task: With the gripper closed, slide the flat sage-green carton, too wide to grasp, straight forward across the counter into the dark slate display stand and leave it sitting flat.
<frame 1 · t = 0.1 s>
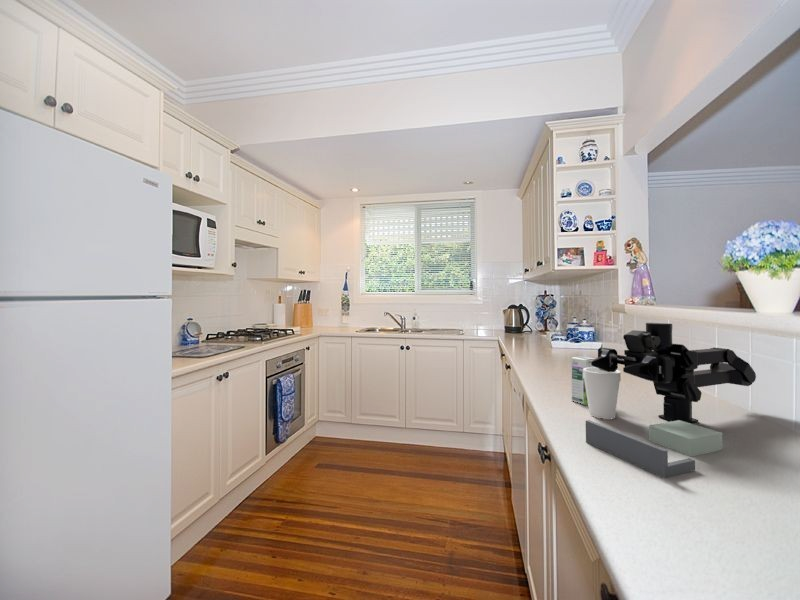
hand: (607, 366, 89), 17 cm above the table, tool horizontal, fingers open, 9 cm apart
foam cup: (602, 416, 102), on the table
display stand: (644, 452, 77), on the table
carton: (684, 446, 81), on the table
syrup box: (584, 402, 115), on the table
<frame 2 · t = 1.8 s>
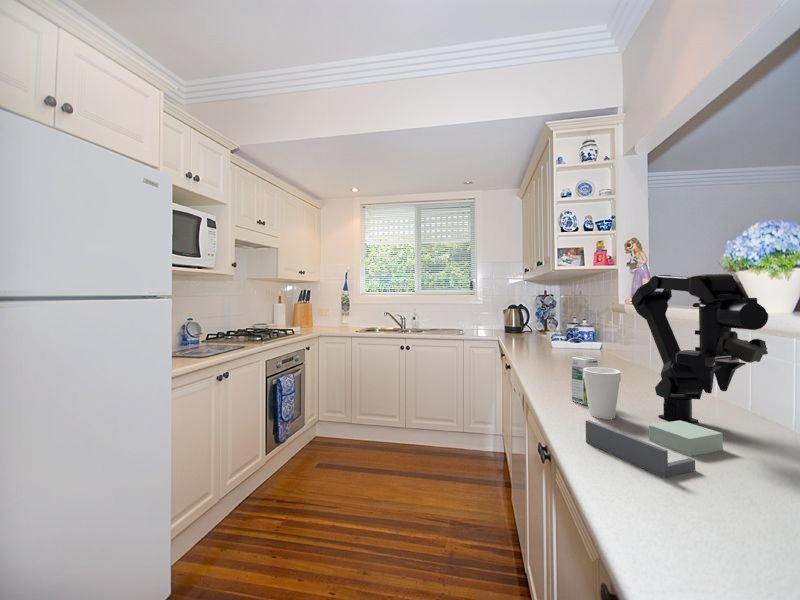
hand: (715, 392, 84), 11 cm above the table, tool pointing down, fingers open, 5 cm apart
nothing on the table moved.
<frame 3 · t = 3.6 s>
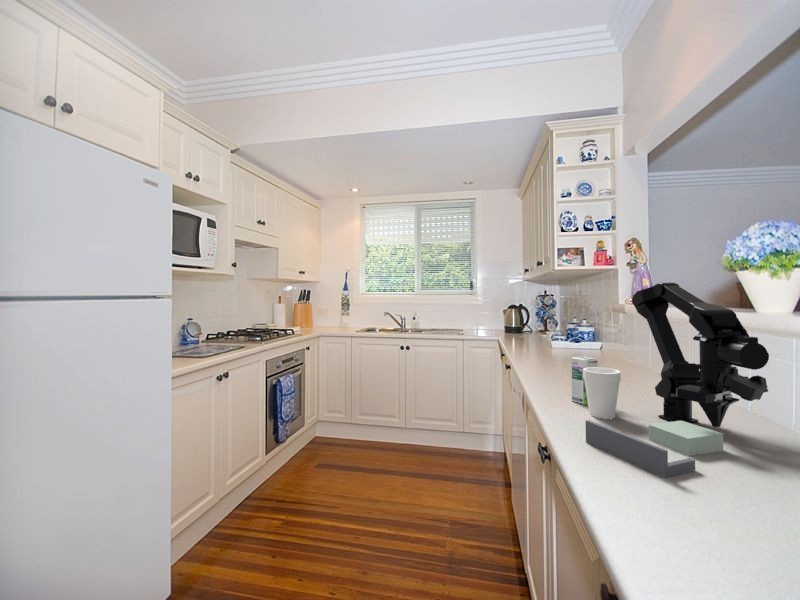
hand: (716, 426, 84), 3 cm above the table, tool pointing down, fingers closed
nothing on the table moved.
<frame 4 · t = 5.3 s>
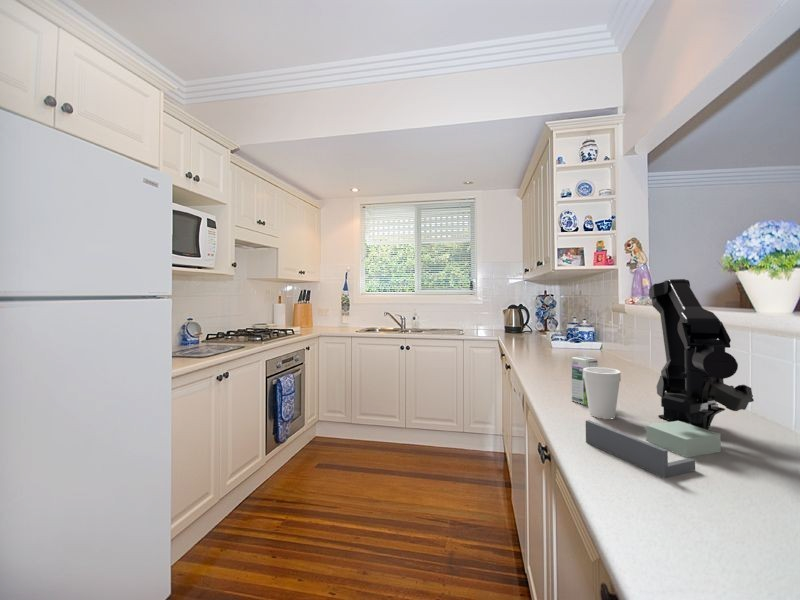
hand: (701, 436, 83), 1 cm above the table, tool pointing down, fingers closed
carton: (682, 447, 80), on the table
everything else where it was.
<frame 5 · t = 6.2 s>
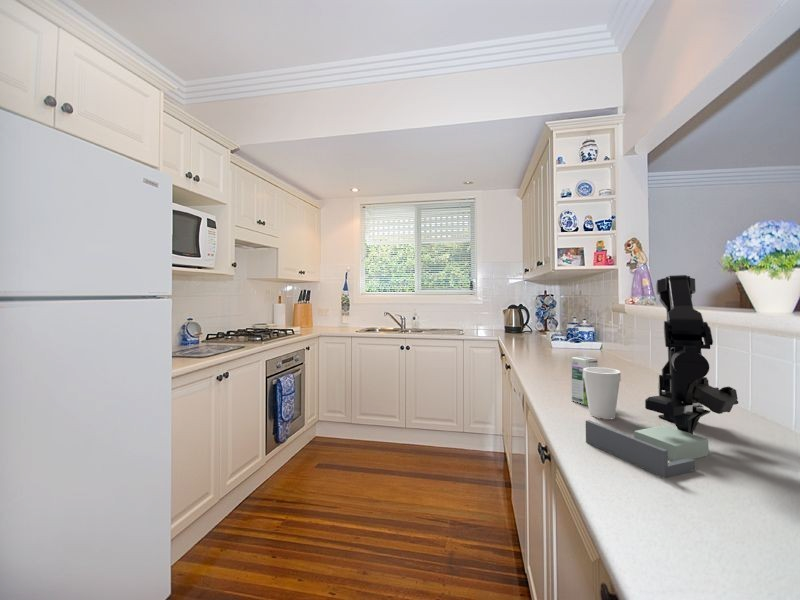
hand: (686, 439, 81), 1 cm above the table, tool pointing down, fingers closed
carton: (670, 452, 78), on the table
everything else where it was.
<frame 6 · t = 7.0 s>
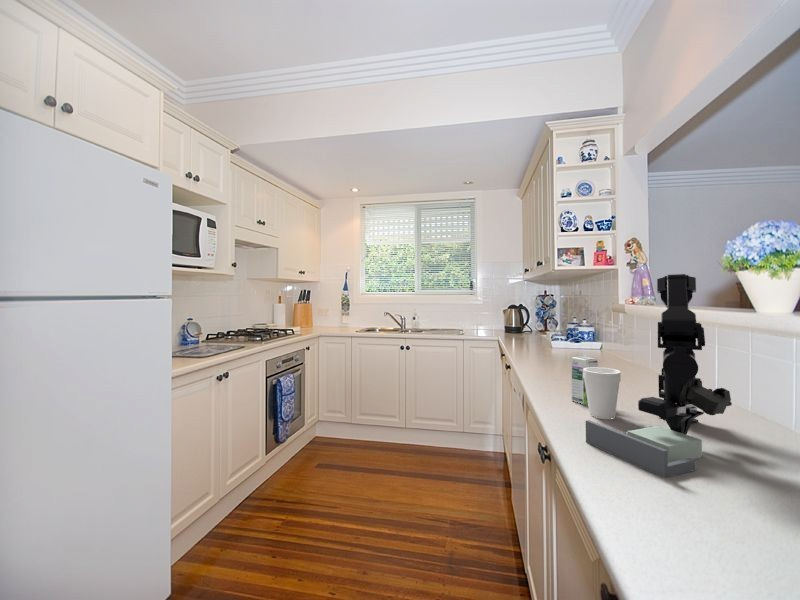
hand: (680, 441, 80), 1 cm above the table, tool pointing down, fingers closed
carton: (663, 453, 77), on the table
everything else where it was.
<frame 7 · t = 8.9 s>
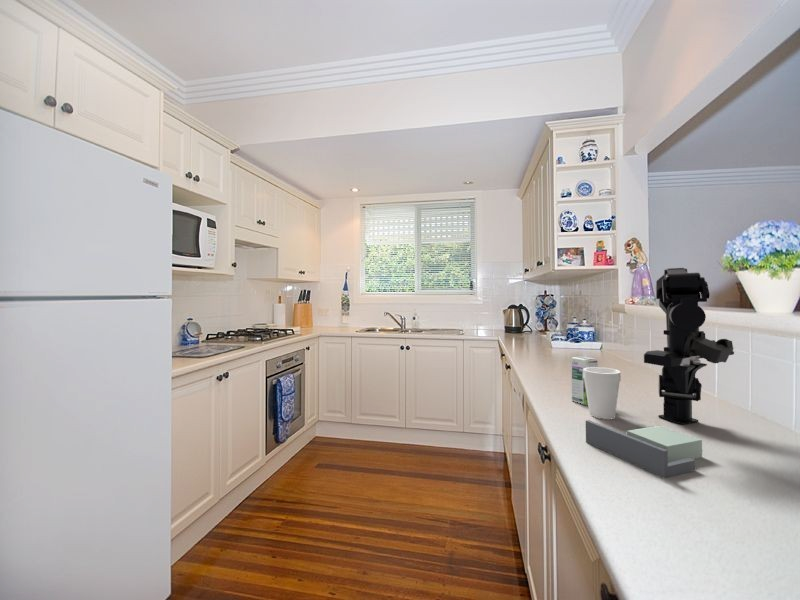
hand: (684, 392, 83), 11 cm above the table, tool pointing down, fingers closed
nothing on the table moved.
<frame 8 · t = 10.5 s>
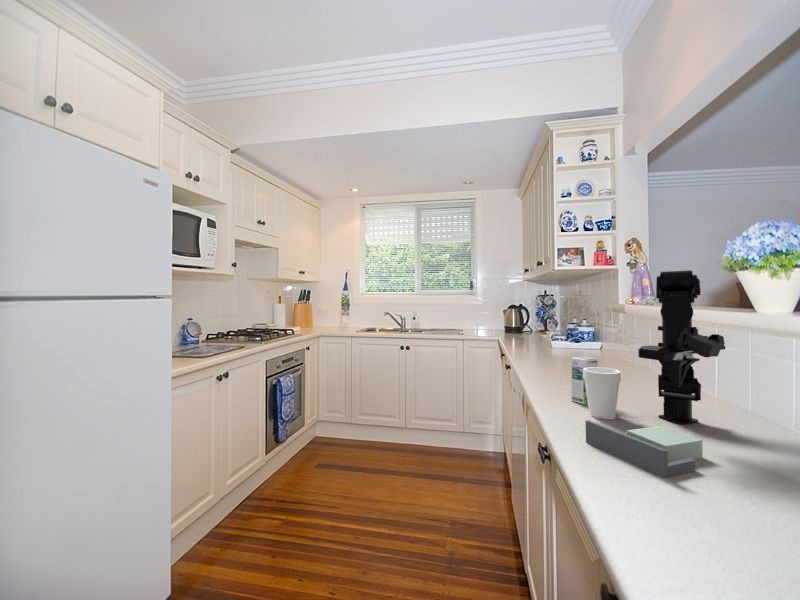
hand: (677, 386, 86), 12 cm above the table, tool pointing down, fingers closed
nothing on the table moved.
at the end: carton inside the target area on the display stand (3.7 cm from its centre), point 0.0 cm above the display stand's base; carton tilted 0° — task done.
